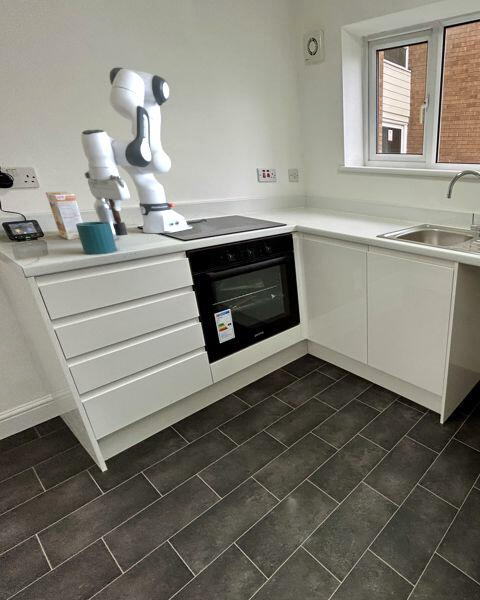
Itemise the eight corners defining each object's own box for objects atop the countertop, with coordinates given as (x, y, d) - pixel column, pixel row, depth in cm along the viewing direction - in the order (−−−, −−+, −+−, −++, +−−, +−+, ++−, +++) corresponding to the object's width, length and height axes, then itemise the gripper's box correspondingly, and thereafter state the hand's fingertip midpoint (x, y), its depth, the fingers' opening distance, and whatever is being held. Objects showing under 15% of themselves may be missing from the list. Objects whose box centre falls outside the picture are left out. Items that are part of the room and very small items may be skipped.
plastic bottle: (109, 241, 155) (96, 195, 147) (99, 240, 157) (86, 194, 149) (124, 239, 160) (113, 194, 153) (114, 237, 162) (102, 193, 155)
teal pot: (107, 247, 145) (100, 220, 141) (122, 250, 142) (115, 223, 138) (79, 252, 137) (70, 223, 133) (93, 255, 133) (85, 226, 129)
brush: (124, 233, 150) (113, 194, 144) (129, 234, 149) (119, 194, 142) (113, 234, 147) (102, 195, 141) (119, 236, 145) (108, 195, 139)
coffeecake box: (59, 235, 164) (44, 191, 156) (78, 233, 169) (65, 191, 162) (67, 240, 155) (53, 194, 148) (88, 237, 161) (75, 193, 154)
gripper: (129, 175, 137) (138, 211, 143) (99, 173, 145) (109, 207, 150) (111, 176, 132) (121, 213, 137) (81, 173, 140) (92, 209, 145)
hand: (115, 210), depth 144 cm, fingers closed on brush, 2 cm apart
